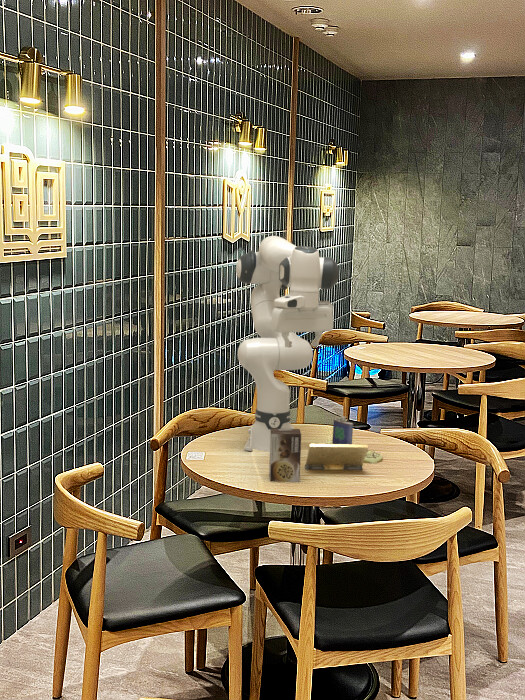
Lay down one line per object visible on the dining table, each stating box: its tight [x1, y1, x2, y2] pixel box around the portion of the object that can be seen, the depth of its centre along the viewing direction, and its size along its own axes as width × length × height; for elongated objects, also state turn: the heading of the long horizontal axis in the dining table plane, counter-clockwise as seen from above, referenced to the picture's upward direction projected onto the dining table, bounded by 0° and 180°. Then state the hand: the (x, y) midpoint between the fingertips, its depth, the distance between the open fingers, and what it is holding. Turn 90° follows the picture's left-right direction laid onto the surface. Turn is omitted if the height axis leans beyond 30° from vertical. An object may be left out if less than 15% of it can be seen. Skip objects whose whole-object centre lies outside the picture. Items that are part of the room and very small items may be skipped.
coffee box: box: [268, 428, 302, 483], centre depth 248 cm, size 9×6×16 cm
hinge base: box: [304, 463, 363, 471], centre depth 257 cm, size 13×18×2 cm
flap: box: [305, 443, 369, 471], centre depth 258 cm, size 13×18×2 cm
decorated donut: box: [363, 450, 384, 464], centre depth 275 cm, size 10×11×4 cm
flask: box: [331, 415, 354, 445], centre depth 296 cm, size 9×3×11 cm, turn 38°
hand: (301, 346), depth 251 cm, fingers open, 8 cm apart
